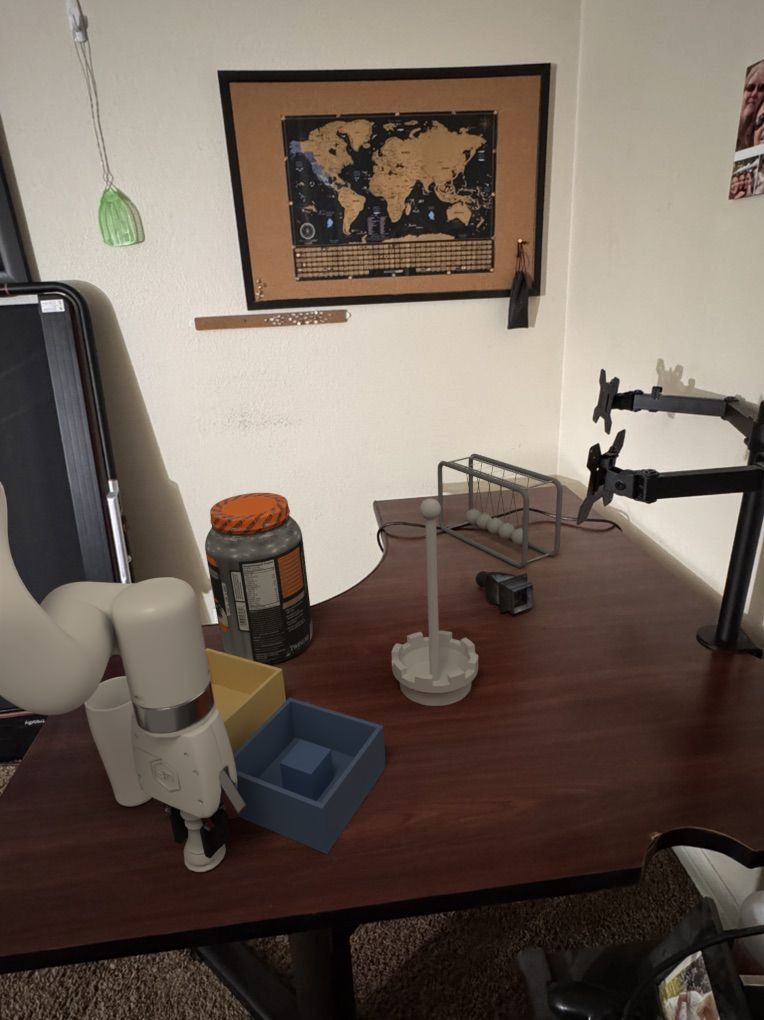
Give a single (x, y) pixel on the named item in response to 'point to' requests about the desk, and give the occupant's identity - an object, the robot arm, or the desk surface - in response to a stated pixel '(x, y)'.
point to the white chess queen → (198, 847)
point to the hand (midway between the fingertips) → (202, 839)
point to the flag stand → (434, 642)
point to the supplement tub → (259, 578)
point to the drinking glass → (115, 738)
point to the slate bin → (354, 777)
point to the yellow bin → (244, 694)
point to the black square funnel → (507, 590)
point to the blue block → (307, 769)
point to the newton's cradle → (496, 524)
